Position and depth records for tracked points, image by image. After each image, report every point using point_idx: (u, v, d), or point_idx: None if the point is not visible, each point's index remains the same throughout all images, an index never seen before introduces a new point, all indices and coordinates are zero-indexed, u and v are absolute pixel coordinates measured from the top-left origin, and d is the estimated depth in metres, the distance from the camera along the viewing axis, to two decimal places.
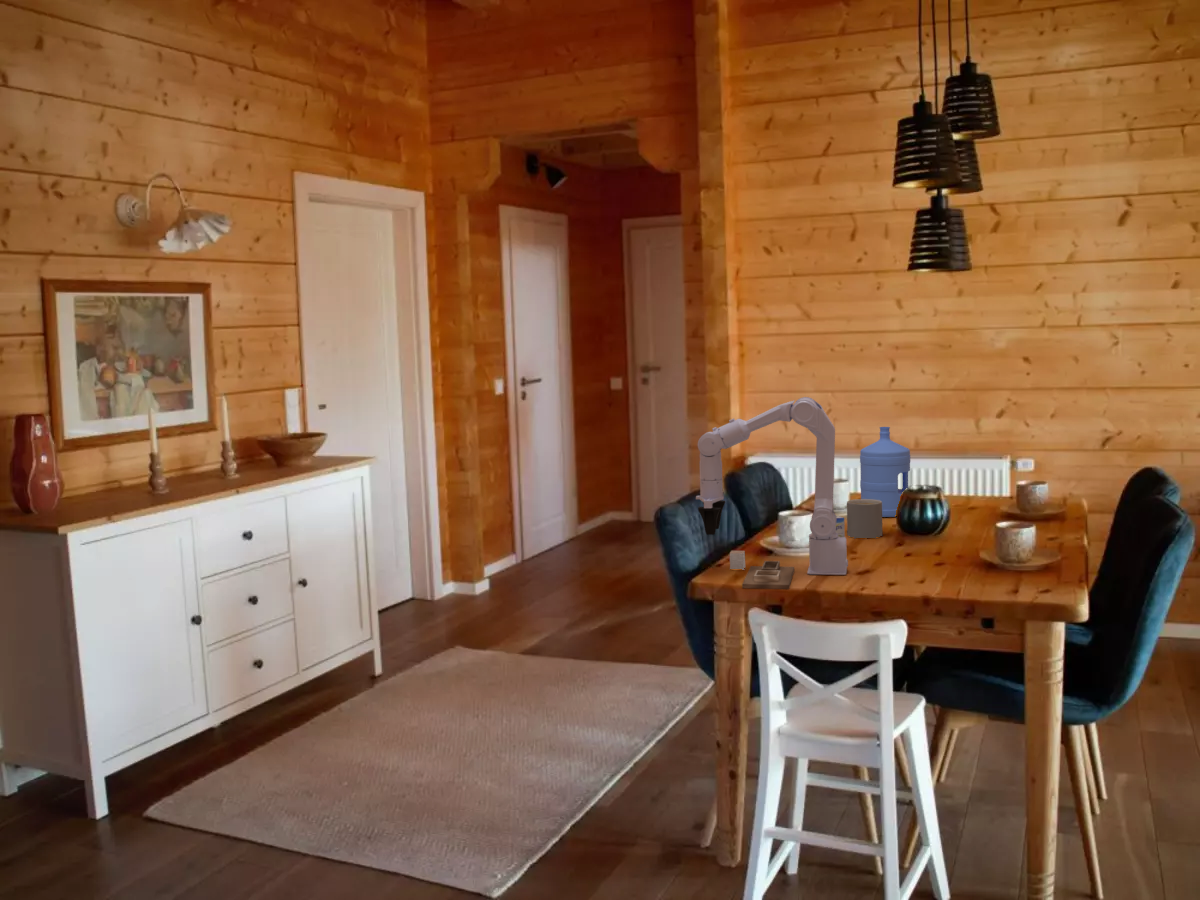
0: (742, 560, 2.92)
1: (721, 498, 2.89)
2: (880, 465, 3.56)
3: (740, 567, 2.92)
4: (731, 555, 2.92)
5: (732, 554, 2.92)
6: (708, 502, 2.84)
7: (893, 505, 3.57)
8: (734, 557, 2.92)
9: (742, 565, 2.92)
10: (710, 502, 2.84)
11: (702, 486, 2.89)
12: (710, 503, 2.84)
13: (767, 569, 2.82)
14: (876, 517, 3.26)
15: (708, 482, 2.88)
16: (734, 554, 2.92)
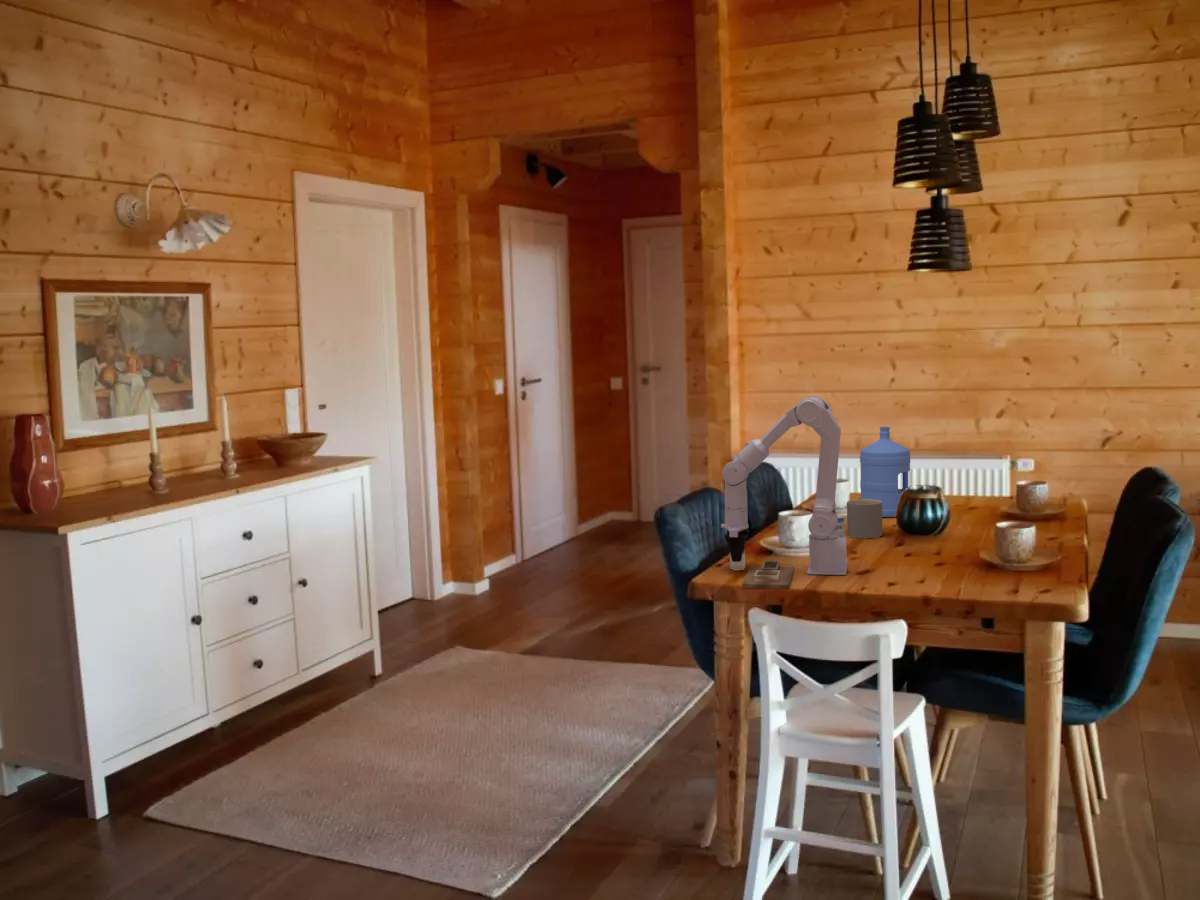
0: (742, 560, 2.92)
1: (746, 527, 2.91)
2: (880, 465, 3.56)
3: (740, 567, 2.92)
4: None
5: None
6: (734, 531, 2.86)
7: (893, 505, 3.57)
8: None
9: (742, 565, 2.92)
10: (736, 531, 2.86)
11: (727, 515, 2.91)
12: (736, 532, 2.86)
13: (767, 569, 2.82)
14: (876, 518, 3.26)
15: (733, 511, 2.90)
16: None
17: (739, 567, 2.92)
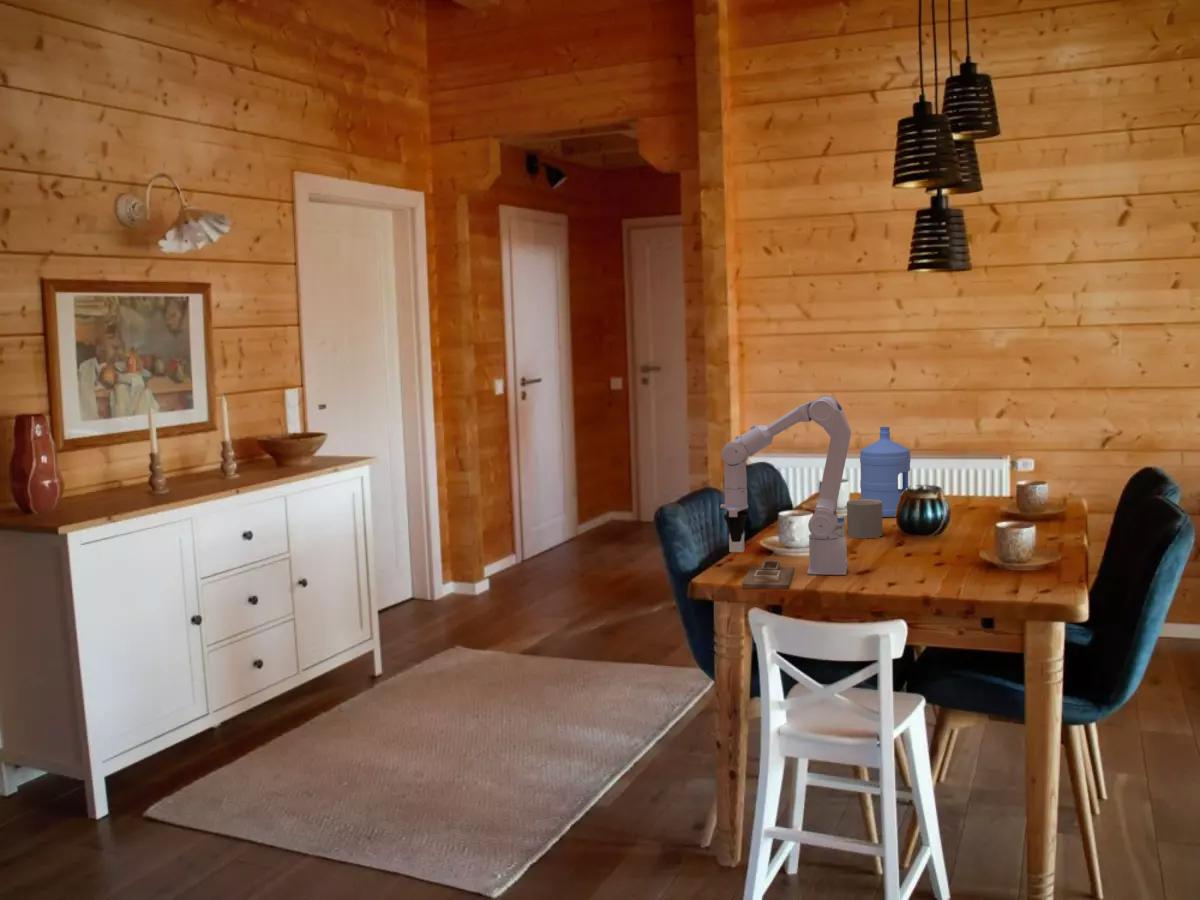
0: (741, 541, 2.91)
1: (746, 507, 2.90)
2: (880, 465, 3.56)
3: (739, 548, 2.91)
4: (730, 536, 2.92)
5: None
6: (733, 511, 2.85)
7: (893, 505, 3.57)
8: None
9: (741, 546, 2.91)
10: (735, 511, 2.85)
11: (727, 495, 2.90)
12: (735, 512, 2.85)
13: (767, 569, 2.82)
14: (876, 517, 3.26)
15: (733, 491, 2.89)
16: None
17: (738, 549, 2.91)
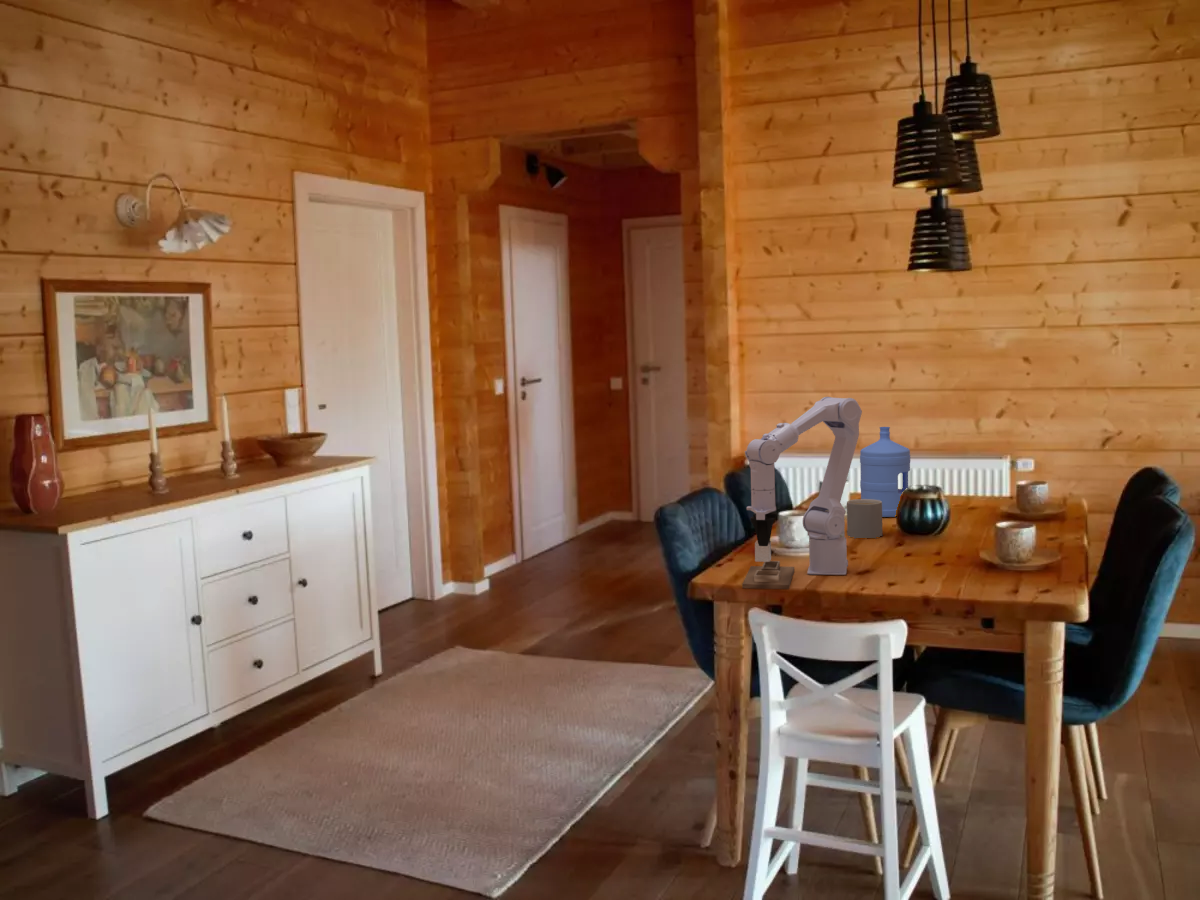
0: (768, 550, 2.75)
1: (774, 509, 2.74)
2: (880, 465, 3.56)
3: (766, 558, 2.76)
4: (756, 545, 2.76)
5: (757, 544, 2.76)
6: (761, 513, 2.69)
7: (893, 505, 3.57)
8: (760, 547, 2.76)
9: (768, 556, 2.75)
10: (763, 513, 2.69)
11: (754, 496, 2.74)
12: (763, 514, 2.69)
13: (767, 569, 2.82)
14: (876, 517, 3.26)
15: (760, 492, 2.73)
16: None
17: (765, 558, 2.76)
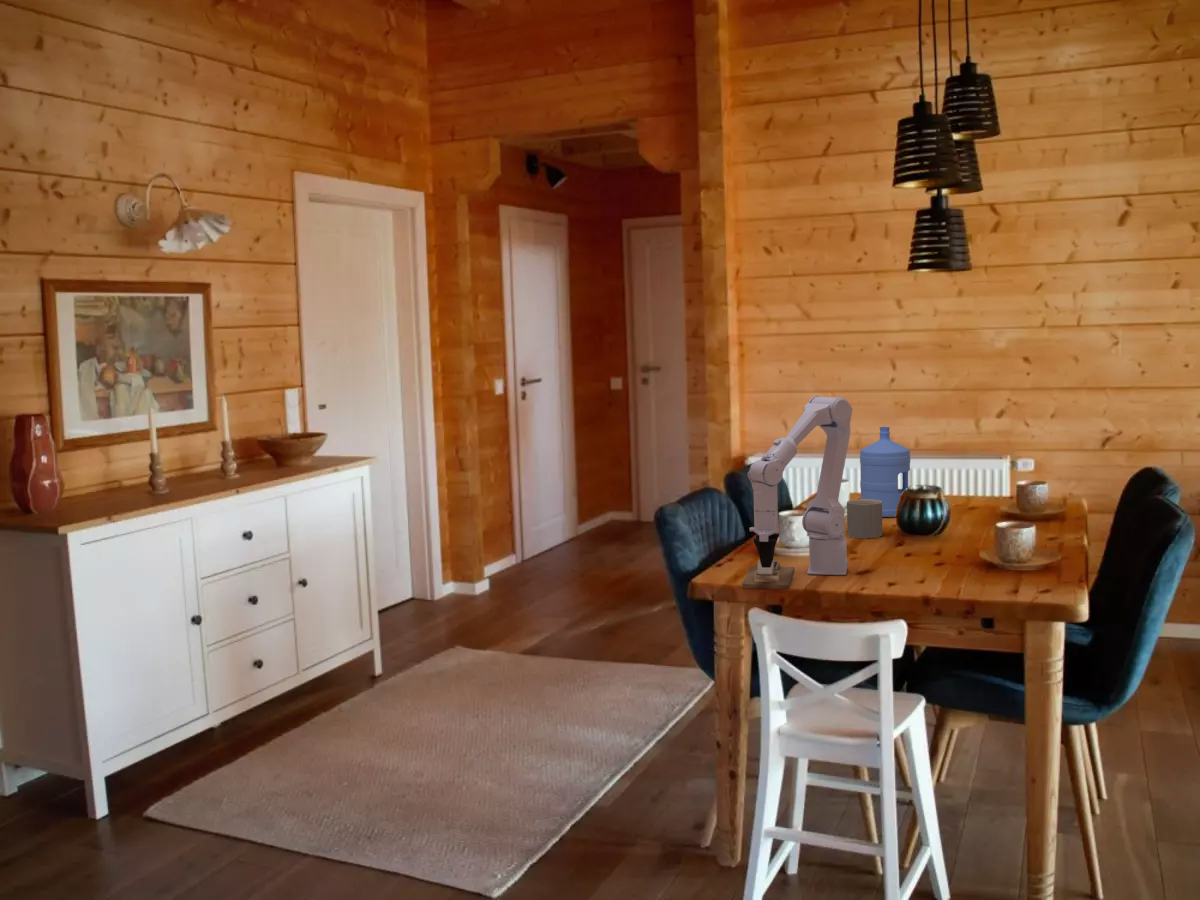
0: (771, 570, 2.74)
1: (777, 530, 2.73)
2: (880, 465, 3.56)
3: None
4: (759, 564, 2.75)
5: (760, 563, 2.75)
6: (764, 535, 2.68)
7: (893, 505, 3.57)
8: None
9: (771, 575, 2.75)
10: (766, 535, 2.68)
11: (756, 517, 2.74)
12: (766, 536, 2.68)
13: None
14: (876, 517, 3.26)
15: (763, 513, 2.72)
16: None
17: None
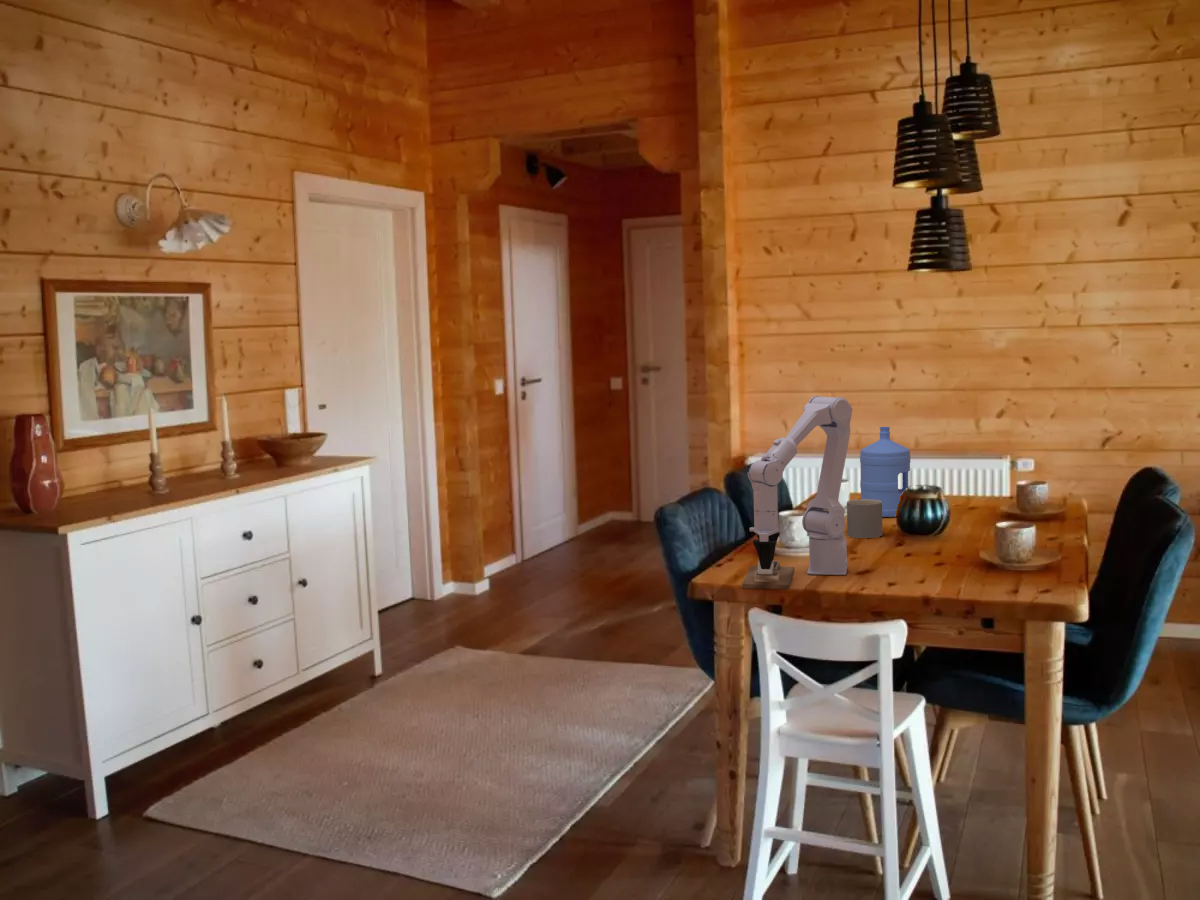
0: (771, 570, 2.74)
1: (777, 530, 2.73)
2: (880, 465, 3.56)
3: None
4: (759, 564, 2.75)
5: None
6: (764, 535, 2.68)
7: (893, 505, 3.57)
8: None
9: (771, 575, 2.75)
10: (766, 535, 2.68)
11: (756, 518, 2.74)
12: (766, 536, 2.68)
13: None
14: (876, 517, 3.26)
15: (763, 513, 2.72)
16: None
17: None
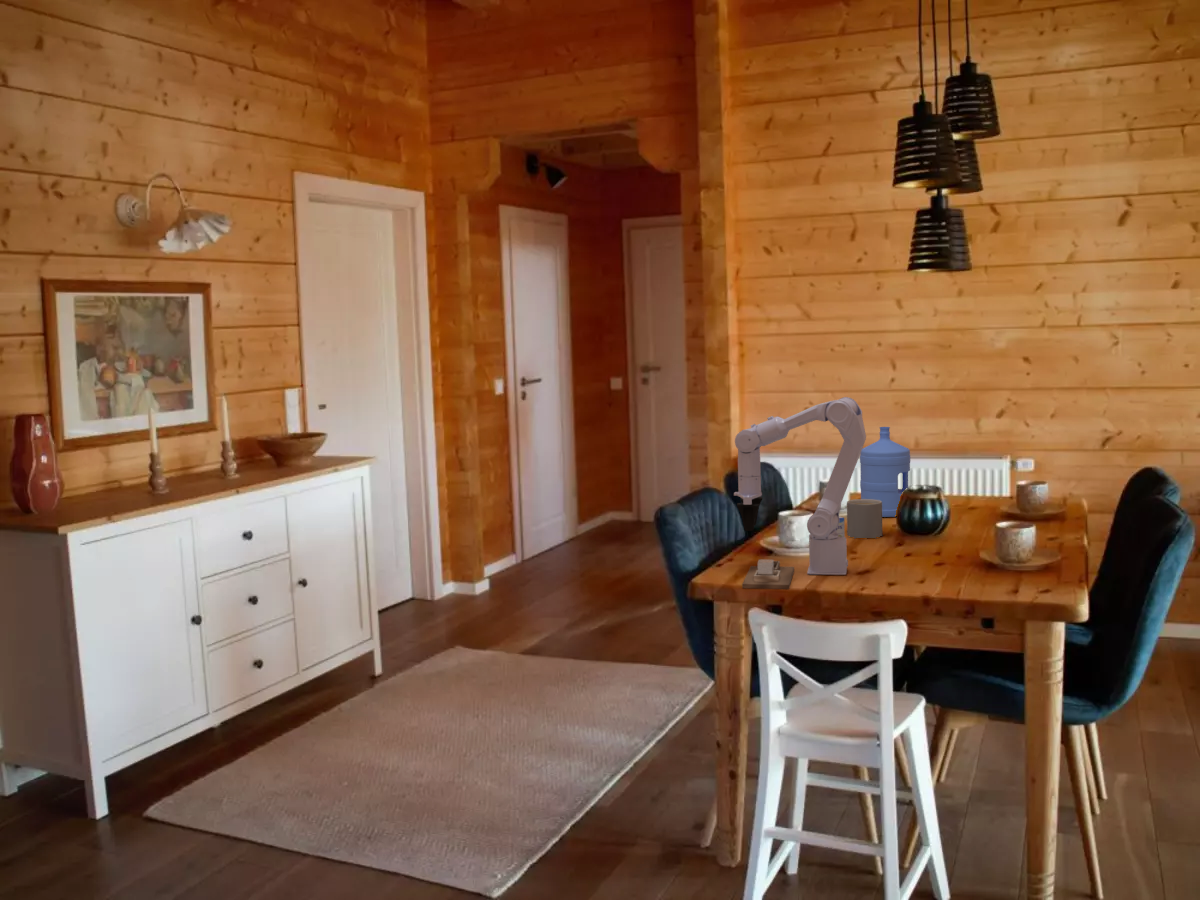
0: (771, 570, 2.74)
1: (759, 494, 2.90)
2: (880, 465, 3.56)
3: None
4: (759, 564, 2.75)
5: (760, 563, 2.75)
6: (747, 498, 2.85)
7: (893, 505, 3.57)
8: (763, 566, 2.75)
9: (771, 575, 2.75)
10: (750, 498, 2.85)
11: (741, 482, 2.90)
12: (750, 499, 2.85)
13: None
14: (876, 517, 3.26)
15: (747, 478, 2.89)
16: (762, 563, 2.75)
17: None
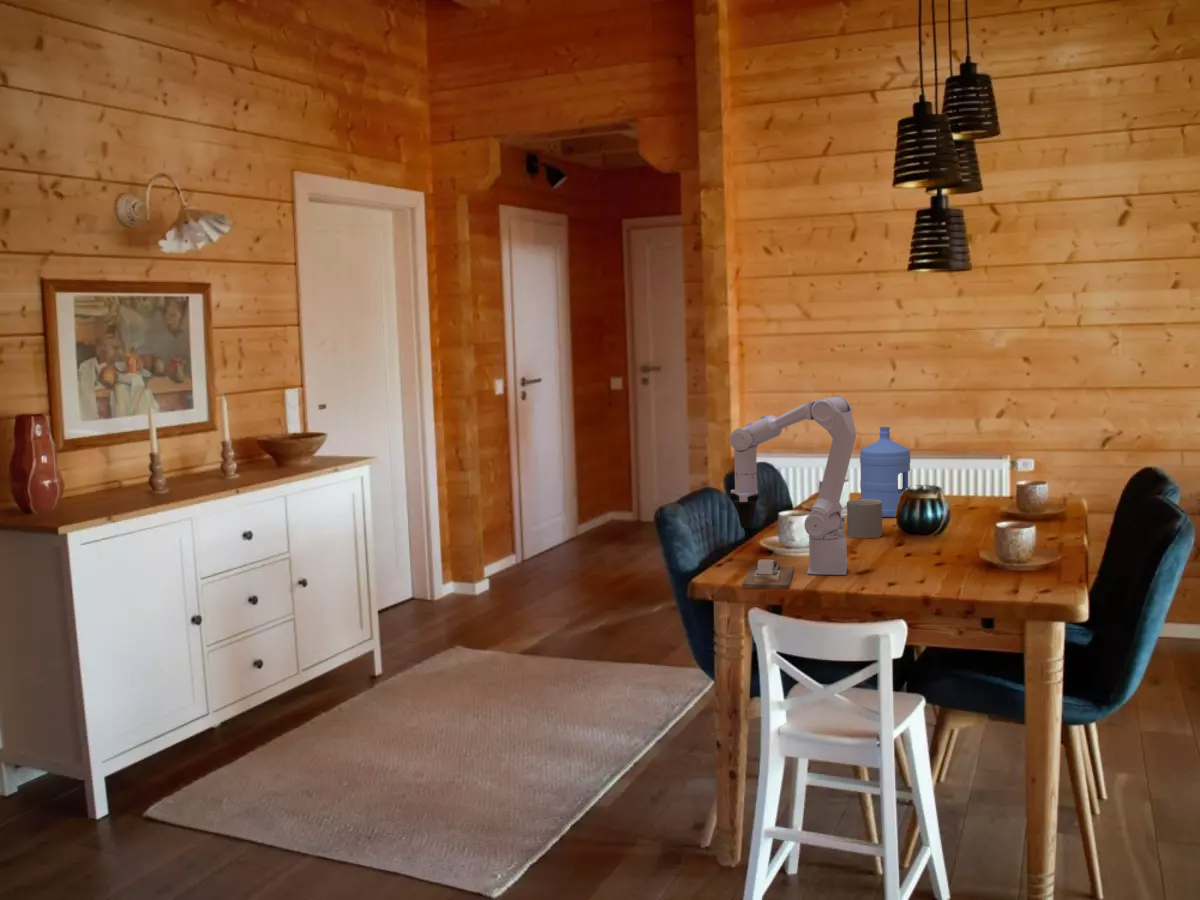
0: (771, 570, 2.74)
1: (756, 492, 2.95)
2: (880, 465, 3.56)
3: None
4: (759, 564, 2.75)
5: (760, 563, 2.75)
6: (743, 496, 2.90)
7: (893, 505, 3.57)
8: (763, 566, 2.75)
9: (771, 575, 2.75)
10: (745, 496, 2.90)
11: (737, 480, 2.95)
12: (745, 497, 2.90)
13: None
14: (876, 517, 3.26)
15: (743, 476, 2.94)
16: (762, 563, 2.75)
17: None
